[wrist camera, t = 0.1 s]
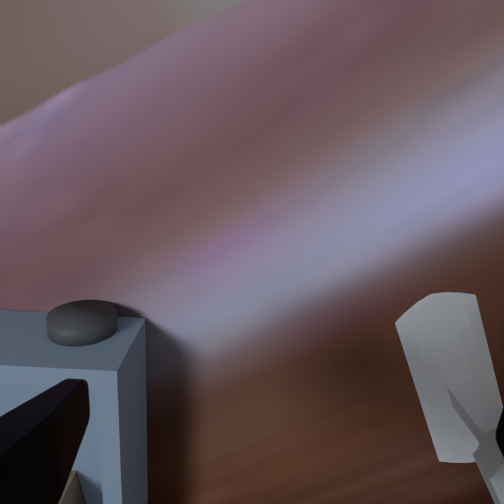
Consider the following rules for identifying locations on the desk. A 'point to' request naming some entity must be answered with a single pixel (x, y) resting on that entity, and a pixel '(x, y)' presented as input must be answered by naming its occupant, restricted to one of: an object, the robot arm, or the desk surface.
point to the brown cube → (73, 491)
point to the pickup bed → (99, 381)
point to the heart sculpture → (455, 382)
